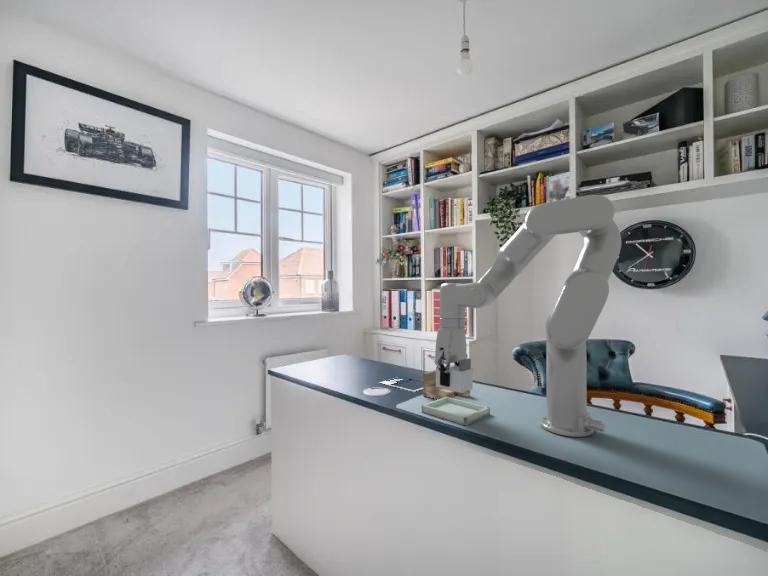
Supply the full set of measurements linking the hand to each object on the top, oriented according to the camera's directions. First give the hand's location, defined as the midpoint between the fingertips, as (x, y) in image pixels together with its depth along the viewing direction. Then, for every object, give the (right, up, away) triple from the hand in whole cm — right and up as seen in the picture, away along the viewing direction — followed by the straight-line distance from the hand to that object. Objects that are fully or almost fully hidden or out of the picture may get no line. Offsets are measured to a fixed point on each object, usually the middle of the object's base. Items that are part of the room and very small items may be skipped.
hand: (451, 383), depth 109 cm
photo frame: (-11, -10, +33) cm, 36 cm away
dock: (+2, -9, +16) cm, 18 cm away
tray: (+1, -9, -1) cm, 9 cm away
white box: (+1, -1, -1) cm, 1 cm away
